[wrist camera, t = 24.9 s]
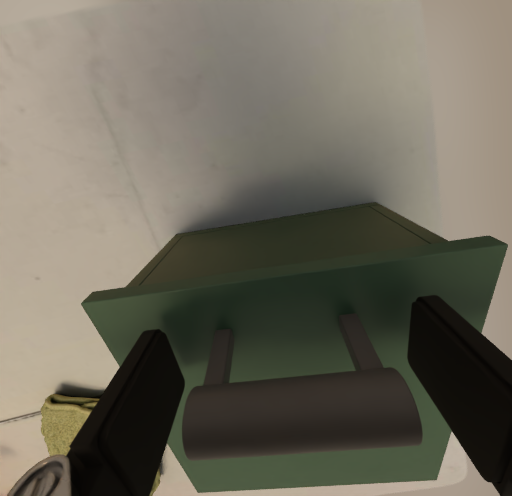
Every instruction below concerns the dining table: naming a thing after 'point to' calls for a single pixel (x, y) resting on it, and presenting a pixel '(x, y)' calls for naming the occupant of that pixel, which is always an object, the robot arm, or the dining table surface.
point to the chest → (284, 242)
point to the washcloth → (68, 423)
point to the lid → (304, 363)
